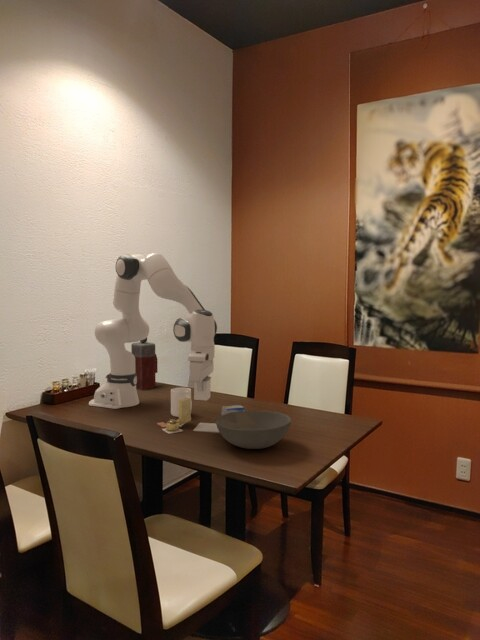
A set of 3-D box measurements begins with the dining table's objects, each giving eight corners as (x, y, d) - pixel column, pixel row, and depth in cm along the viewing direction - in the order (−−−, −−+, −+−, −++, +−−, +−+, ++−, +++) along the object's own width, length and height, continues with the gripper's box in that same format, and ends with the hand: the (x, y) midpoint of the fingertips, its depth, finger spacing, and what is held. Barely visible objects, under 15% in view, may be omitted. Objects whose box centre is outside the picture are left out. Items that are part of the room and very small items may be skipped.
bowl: (233, 463, 166) (233, 433, 165) (205, 438, 190) (205, 411, 189) (304, 452, 176) (305, 424, 175) (269, 430, 200) (269, 405, 199)
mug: (182, 420, 212) (182, 394, 211) (166, 413, 221) (166, 389, 220) (199, 416, 218) (199, 391, 217) (183, 410, 227) (183, 386, 226)
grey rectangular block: (193, 399, 195) (193, 378, 194) (197, 396, 200) (197, 375, 199) (207, 400, 194) (207, 379, 193) (210, 397, 199) (211, 376, 198)
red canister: (159, 386, 271) (159, 334, 269) (141, 390, 263) (141, 335, 261) (149, 384, 278) (149, 332, 275) (131, 387, 270) (131, 334, 267)
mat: (193, 431, 198) (193, 430, 198) (199, 423, 208) (199, 422, 208) (218, 432, 196) (218, 431, 196) (224, 425, 206) (224, 424, 206)
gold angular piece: (173, 431, 195) (173, 406, 194) (163, 429, 198) (163, 404, 197) (194, 422, 207) (194, 398, 206) (184, 421, 209) (184, 397, 208)
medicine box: (225, 431, 198) (226, 408, 197) (220, 427, 202) (221, 405, 201) (243, 429, 201) (245, 407, 200) (238, 425, 205) (239, 404, 204)
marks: (146, 432, 196) (146, 431, 196) (160, 420, 211) (160, 420, 211) (179, 434, 194) (179, 433, 194) (191, 422, 209) (191, 422, 209)
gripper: (202, 348, 206) (201, 382, 207) (186, 357, 186) (186, 394, 187) (217, 349, 205) (217, 383, 206) (203, 358, 185) (203, 396, 186)
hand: (202, 389), depth 197 cm, fingers closed on grey rectangular block, 5 cm apart
